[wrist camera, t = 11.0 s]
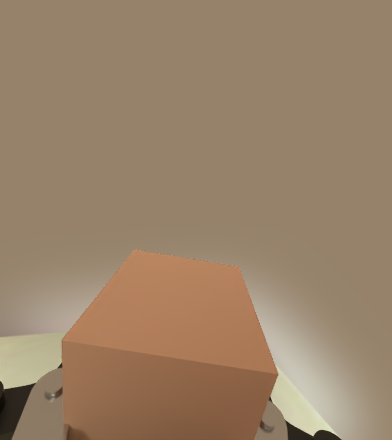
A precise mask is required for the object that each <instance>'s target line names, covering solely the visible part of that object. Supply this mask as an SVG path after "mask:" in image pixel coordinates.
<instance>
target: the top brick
mask: <svg viewBox="0 0 392 440" xmlns="http://www.w3.org/2000/svg"><path fill="white" fill-rule="evenodd" d="M277 376H278V372H277V369H276V367H275V364H274V361H273V358H272V356H271V353H270V350H269V348H268V345H267V343H266V339H265V337H264V334H263V331H262V329H261V326H260V323H259V320H258V318H257V315H256V312H255V310H254V307H253V304H252V301H251V298H250V296H249V293H248V290H247V288H246V285H245V282H244V280H243V277H242V274H241V271H240V269H239V267H236V266H230V265H225V264H219V263H212V262H206V261H201V260H195V259H188V258H182V257H176V256H170V255H164V254H158V253H152V252H146V251H140V250H134V251H133V252H132V253H131V254H130V256H129V257H128V258H127V259H126V261H125V262H124V263H123V264H122V266H121V267H120V268H119V270H118V271H117V272H116V273H115V275H114V276H113V277H112V278H111V279H110V281H109V282H108V283H107V284H106V286H105V287H104V288H103V289H102V291H101V292H100V293H99V294H98V296H97V297H96V298H95V299H94V301H93V302H92V303H91V304H90V306H89V307H88V308H87V309H86V311H85V312H84V313H83V314H82V316H81V317H80V318H79V319H78V320H77V322H76V323H75V324H74V325H73V327H72V328H71V329H70V330H69V332H68V333H67V334H66V335H65V337H64V338H63V339H62V382H63V424H69V439H68V440H254V438H255V435H256V433H257V430H258V427H259V425H260V422H261V419H262V416H263V414H264V411H265V408H266V406H267V403H268V400H269V398H270V395H271V392H272V390H273V387H274V384H275V382H276V379H277Z"/></svg>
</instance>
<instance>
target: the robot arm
mask: <svg viewBox="0 0 392 440" xmlns="http://www.w3.org/2000/svg"><path fill="white" fill-rule="evenodd" d="M68 439H69V424H63V382H62V363H61V364H60V366H59V367H58V368H57V369H55V370H53V371H51V372H49V373H47V374H46V375H44V376H43V377H42V378H41V379H40V380H38V382H37V383H34V384H31V385H26V386H21V387H15V388H10V389H4V387H3V384H2V382H1V381H0V440H68ZM254 440H341V439H340V438H339V437H338V436H336V435H335V434H333V433H331V432H329V431H326V430H319V431H317V432H316V433H315V435H314V437H313V436H311V435H309V434H308V433H306V432H304V431H302V430H300V429H298V428H296V427H295V426H293V425H291V424H290V423H288V422H287V421H286V420H285V419H284V417H283V415H282V413H281V412H280V410H279V409H278V408H277V407H276V406H275V405H274V404H273V403H272V400H271V397H270V398H269V400H268V403H267V406H266V408H265V411H264V414H263V416H262V419H261V422H260V425H259V427H258V430H257V433H256V435H255V438H254Z"/></svg>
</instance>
